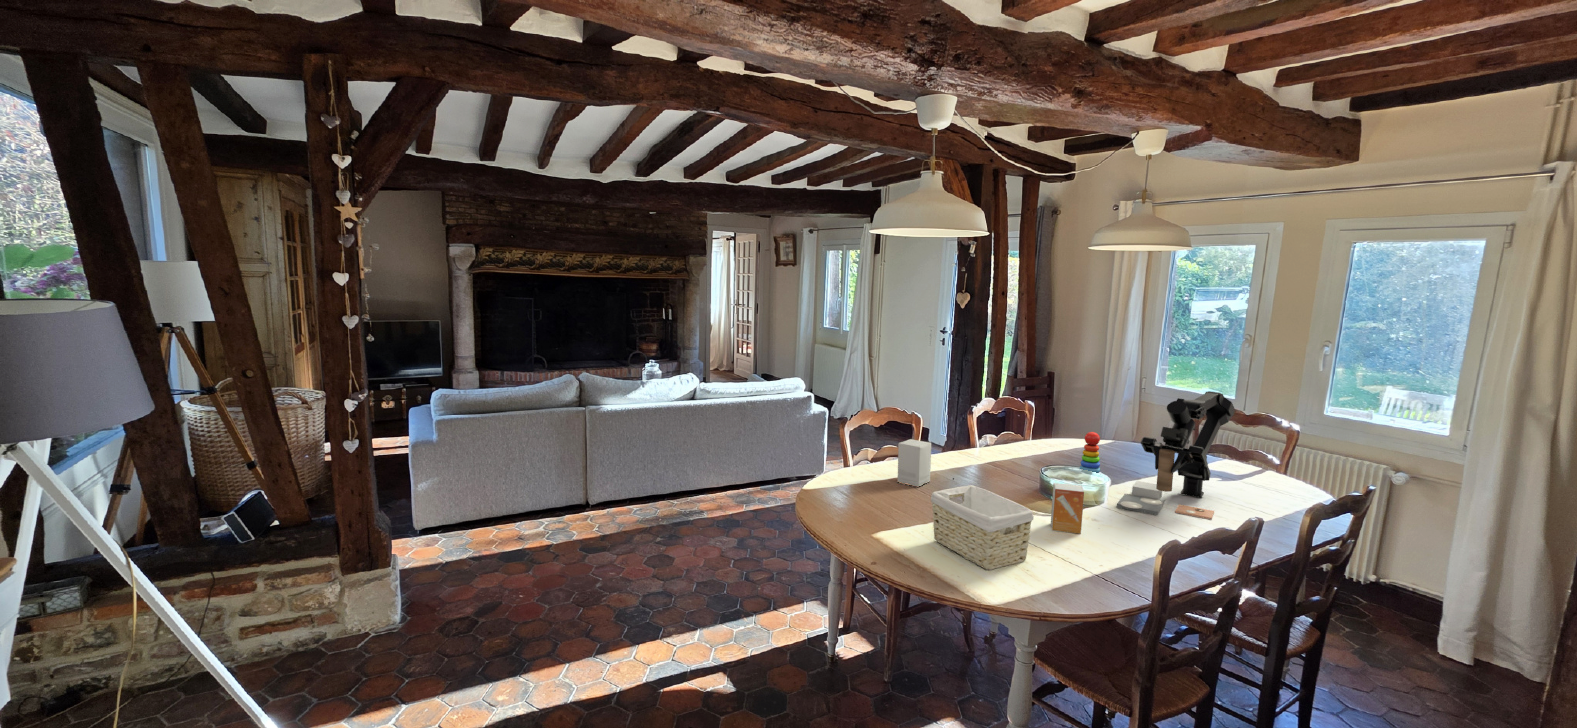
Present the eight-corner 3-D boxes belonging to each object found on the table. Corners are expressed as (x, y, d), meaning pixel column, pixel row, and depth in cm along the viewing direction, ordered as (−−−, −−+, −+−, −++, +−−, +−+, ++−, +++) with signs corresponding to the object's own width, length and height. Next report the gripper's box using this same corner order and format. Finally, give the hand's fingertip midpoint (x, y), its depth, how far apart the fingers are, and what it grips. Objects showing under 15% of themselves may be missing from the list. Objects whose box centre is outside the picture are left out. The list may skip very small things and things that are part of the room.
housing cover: (1136, 491, 234) (1136, 480, 234) (1161, 496, 229) (1162, 485, 229) (1131, 497, 228) (1132, 486, 227) (1157, 502, 223) (1158, 490, 223)
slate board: (1124, 496, 228) (1125, 493, 228) (1164, 504, 221) (1164, 500, 221) (1115, 508, 217) (1115, 504, 217) (1156, 516, 210) (1157, 512, 209)
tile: (1178, 505, 220) (1178, 503, 220) (1214, 512, 214) (1214, 510, 214) (1175, 512, 214) (1175, 510, 214) (1211, 519, 208) (1211, 517, 208)
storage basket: (1033, 563, 175) (1037, 509, 173) (987, 575, 167) (989, 518, 165) (970, 531, 196) (973, 483, 194) (926, 541, 189) (928, 490, 187)
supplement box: (930, 482, 242) (932, 442, 240) (918, 488, 235) (920, 447, 233) (909, 477, 248) (910, 438, 246) (896, 482, 241) (897, 442, 239)
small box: (1051, 530, 197) (1054, 488, 195) (1050, 523, 203) (1053, 482, 201) (1081, 534, 195) (1084, 491, 193) (1079, 526, 201) (1082, 484, 199)
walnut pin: (1159, 486, 220) (1162, 448, 218) (1173, 489, 217) (1177, 450, 215) (1154, 489, 217) (1157, 450, 215) (1168, 492, 214) (1172, 453, 212)
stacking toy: (1103, 485, 240) (1106, 435, 238) (1079, 484, 242) (1083, 434, 240) (1097, 479, 248) (1101, 430, 246) (1074, 478, 250) (1078, 429, 247)
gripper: (1145, 413, 223) (1127, 450, 218) (1206, 423, 209) (1189, 463, 204) (1153, 432, 229) (1136, 469, 224) (1214, 443, 215) (1197, 482, 210)
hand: (1163, 470), depth 215 cm, fingers closed on walnut pin, 4 cm apart
